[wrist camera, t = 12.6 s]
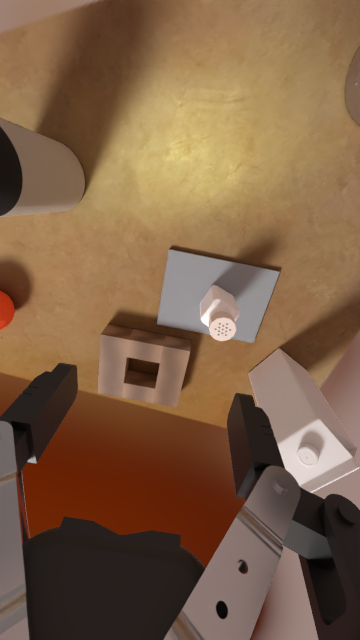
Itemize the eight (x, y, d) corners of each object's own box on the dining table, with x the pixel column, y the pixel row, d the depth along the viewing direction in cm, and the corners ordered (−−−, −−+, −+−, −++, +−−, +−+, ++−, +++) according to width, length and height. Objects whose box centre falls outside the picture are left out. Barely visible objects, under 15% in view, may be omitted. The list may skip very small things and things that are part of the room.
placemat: (278, 270, 36) (279, 271, 35) (252, 340, 41) (253, 342, 40) (169, 248, 35) (168, 249, 35) (157, 322, 40) (156, 324, 40)
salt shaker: (213, 282, 36) (218, 307, 28) (235, 295, 37) (247, 325, 29) (198, 303, 38) (199, 333, 29) (219, 316, 39) (226, 349, 30)
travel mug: (83, 218, 34) (-18, 235, 18) (25, 202, 34) (-133, 205, 17) (88, 150, 31) (-31, 96, 14) (23, 131, 30) (-176, 53, 14)
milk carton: (306, 369, 43) (380, 482, 26) (275, 393, 46) (322, 509, 29) (278, 346, 41) (337, 451, 24) (247, 372, 44) (280, 483, 27)
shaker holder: (190, 339, 42) (190, 351, 38) (177, 393, 47) (176, 407, 44) (108, 324, 41) (100, 334, 38) (104, 379, 46) (97, 393, 43)
